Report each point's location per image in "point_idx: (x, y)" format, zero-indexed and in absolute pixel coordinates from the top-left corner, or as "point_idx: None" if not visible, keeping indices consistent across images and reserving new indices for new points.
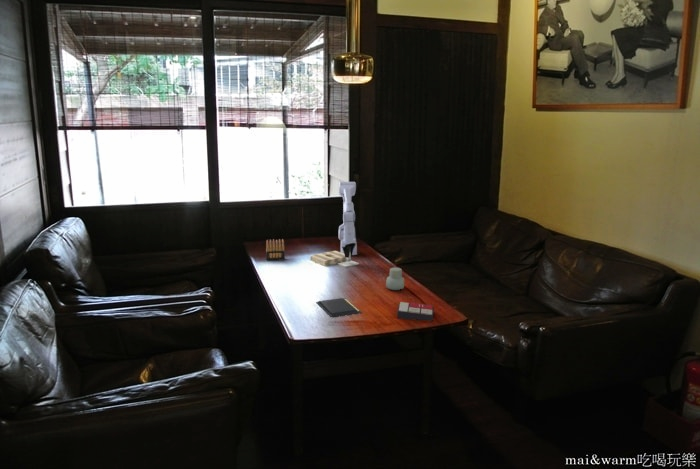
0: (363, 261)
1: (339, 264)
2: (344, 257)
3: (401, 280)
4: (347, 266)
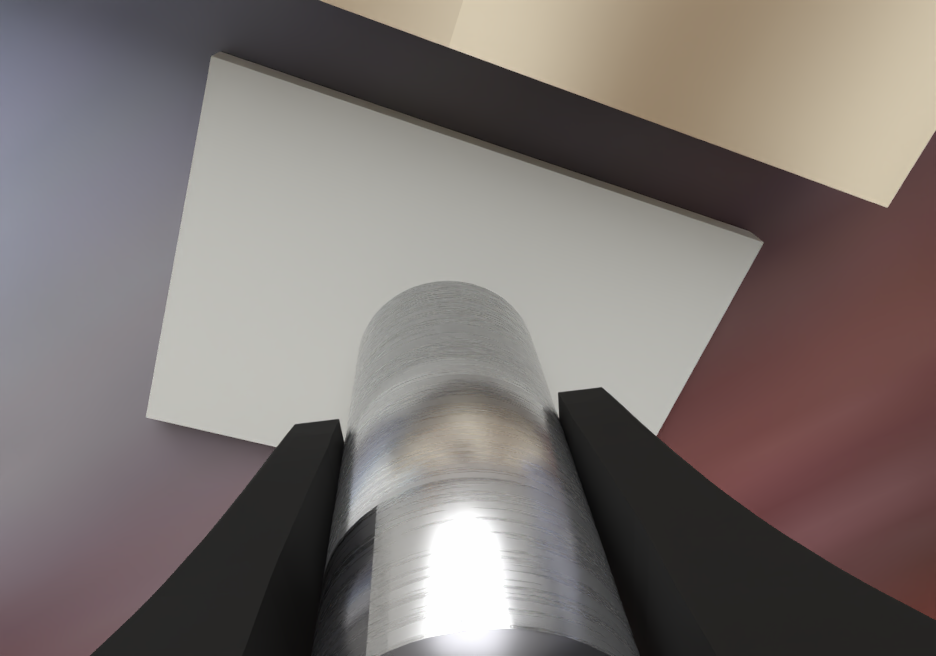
0: (874, 460)
1: (198, 157)
2: (641, 114)
3: None
4: (234, 423)
